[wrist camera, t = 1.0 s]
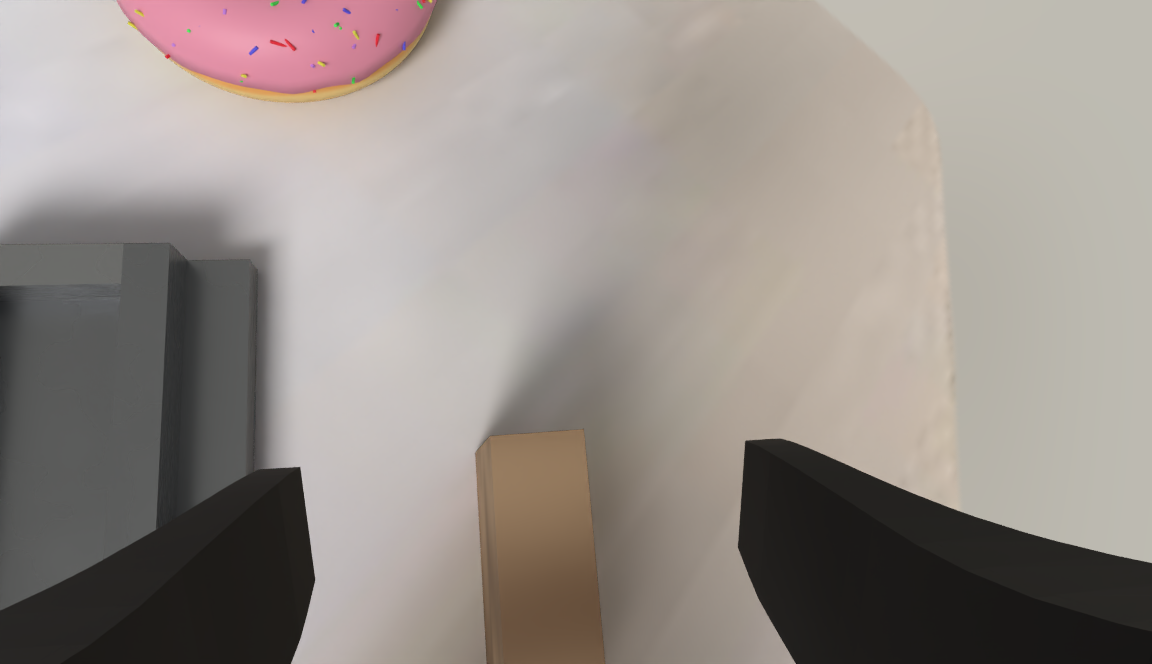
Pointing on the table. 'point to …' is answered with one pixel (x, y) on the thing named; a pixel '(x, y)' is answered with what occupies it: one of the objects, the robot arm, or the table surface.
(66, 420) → the floor track
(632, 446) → the table surface
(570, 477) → the door panel
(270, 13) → the doughnut
